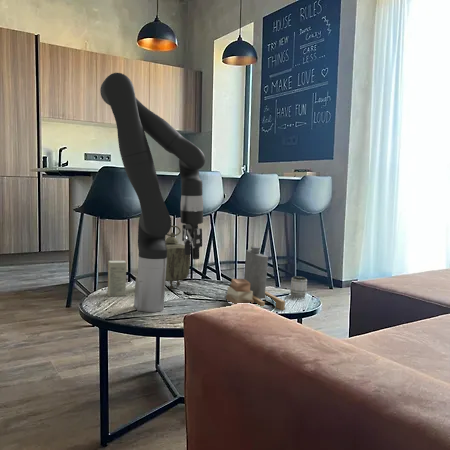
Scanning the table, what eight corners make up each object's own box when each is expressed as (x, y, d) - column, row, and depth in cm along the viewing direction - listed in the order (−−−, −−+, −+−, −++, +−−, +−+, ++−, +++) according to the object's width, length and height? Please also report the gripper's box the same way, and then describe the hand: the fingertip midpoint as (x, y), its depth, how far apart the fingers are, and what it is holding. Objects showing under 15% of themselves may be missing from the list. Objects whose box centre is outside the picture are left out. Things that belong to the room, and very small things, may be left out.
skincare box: (124, 293, 166) (126, 260, 165) (125, 296, 162) (127, 262, 161) (106, 293, 164) (108, 259, 163) (107, 296, 160) (108, 262, 159)
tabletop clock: (180, 284, 186) (184, 224, 184) (190, 289, 179) (195, 227, 176) (147, 286, 179) (151, 224, 176) (156, 292, 171) (160, 226, 169)
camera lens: (288, 293, 184) (290, 275, 184) (303, 294, 185) (305, 275, 184) (292, 297, 178) (293, 278, 178) (307, 298, 179) (309, 279, 178)
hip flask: (265, 303, 166) (270, 250, 164) (255, 303, 165) (260, 249, 163) (249, 292, 181) (253, 243, 179) (239, 293, 179) (243, 243, 178)
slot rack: (260, 310, 156) (261, 302, 155) (229, 291, 181) (230, 283, 181) (284, 309, 159) (285, 301, 159) (250, 290, 185) (251, 283, 185)
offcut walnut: (235, 309, 157) (236, 301, 156) (225, 302, 165) (226, 294, 165) (253, 308, 159) (254, 300, 159) (243, 301, 167) (243, 294, 167)
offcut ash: (237, 300, 157) (237, 292, 157) (227, 294, 164) (227, 286, 164) (252, 299, 160) (252, 291, 159) (241, 294, 167) (242, 286, 166)
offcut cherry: (236, 291, 157) (236, 283, 157) (231, 286, 164) (231, 278, 164) (249, 291, 159) (250, 283, 158) (244, 287, 165) (244, 279, 165)
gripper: (175, 207, 155) (175, 254, 157) (187, 211, 142) (187, 261, 144) (195, 207, 158) (195, 252, 160) (209, 210, 145) (209, 260, 147)
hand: (191, 256), depth 152 cm, fingers open, 8 cm apart
